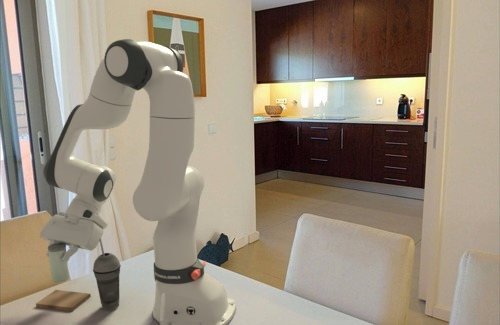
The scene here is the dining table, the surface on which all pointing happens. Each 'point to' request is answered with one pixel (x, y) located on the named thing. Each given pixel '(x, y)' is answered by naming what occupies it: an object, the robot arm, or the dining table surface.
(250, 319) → the dining table surface
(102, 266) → the beverage cup
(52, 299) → the walnut board
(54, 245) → the sage tube
